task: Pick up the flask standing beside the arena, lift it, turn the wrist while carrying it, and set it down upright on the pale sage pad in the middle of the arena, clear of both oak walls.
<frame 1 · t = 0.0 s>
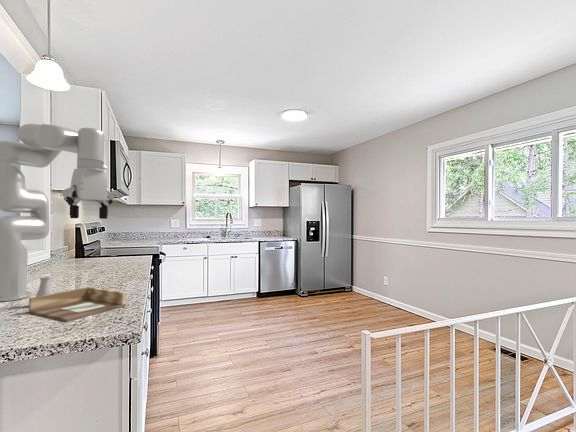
hand: (89, 218, 104), 31 cm above the countertop, tool pointing down, fingers open, 9 cm apart
arena: (79, 309, 108), on the countertop
flask: (44, 305, 113), on the countertop
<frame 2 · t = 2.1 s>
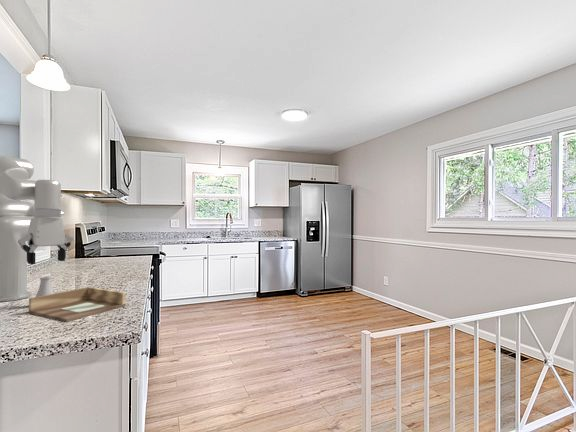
hand: (46, 262, 113), 15 cm above the countertop, tool pointing down, fingers open, 9 cm apart
nothing on the countertop moved.
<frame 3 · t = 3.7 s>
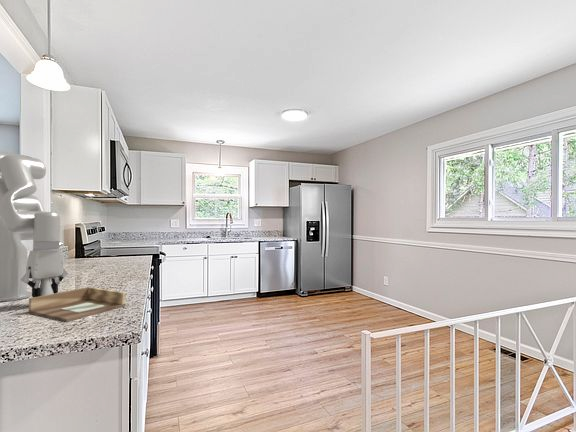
hand: (45, 296, 113), 3 cm above the countertop, tool pointing down, fingers closed on flask, 4 cm apart
flask: (44, 305, 113), on the countertop, touching gripper
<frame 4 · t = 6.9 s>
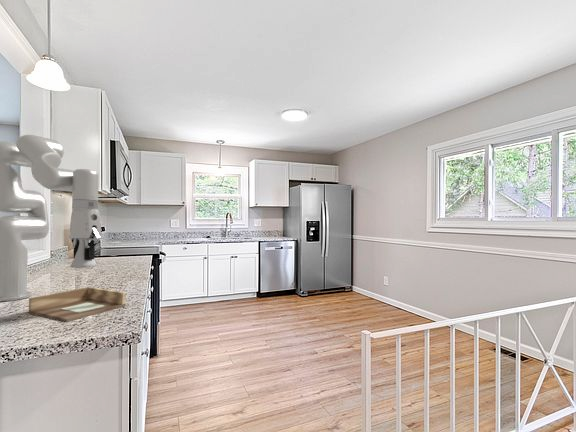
hand: (83, 258, 108), 17 cm above the countertop, tool pointing down, fingers closed on flask, 4 cm apart
flask: (83, 267, 108), point 14 cm above the countertop, touching gripper
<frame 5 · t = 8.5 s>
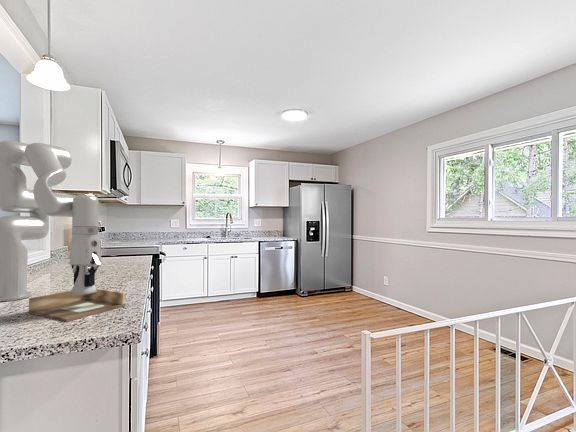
hand: (84, 284, 107), 9 cm above the countertop, tool pointing down, fingers closed on flask, 4 cm apart
flask: (83, 293, 107), point 6 cm above the countertop, touching gripper
when the fingers open (5 cm above the countertop, at t = 10.0 s): flask drops 1 cm, resting on arena.
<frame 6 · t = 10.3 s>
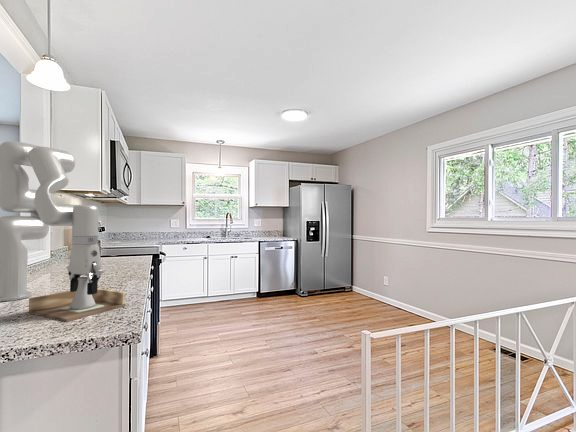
hand: (83, 292, 107), 6 cm above the countertop, tool pointing down, fingers open, 8 cm apart
flask: (82, 307, 107), point 1 cm above the countertop, touching arena
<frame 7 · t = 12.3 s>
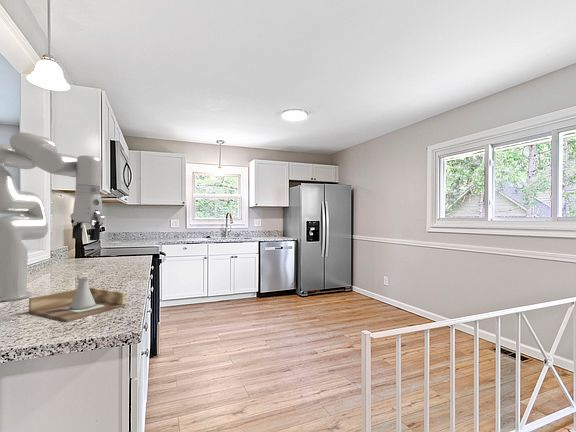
hand: (85, 239, 112), 24 cm above the countertop, tool pointing down, fingers open, 9 cm apart
nothing on the countertop moved.
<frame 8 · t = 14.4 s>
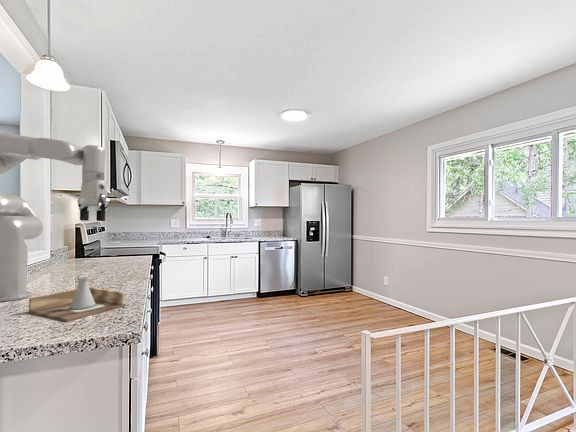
hand: (92, 220, 124), 30 cm above the countertop, tool pointing down, fingers open, 9 cm apart
nothing on the countertop moved.
at the end: flask 0.2 cm from the target spot on the arena, point 0.8 cm above the arena's base; flask tilted 0°; the gripper is holding nothing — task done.
